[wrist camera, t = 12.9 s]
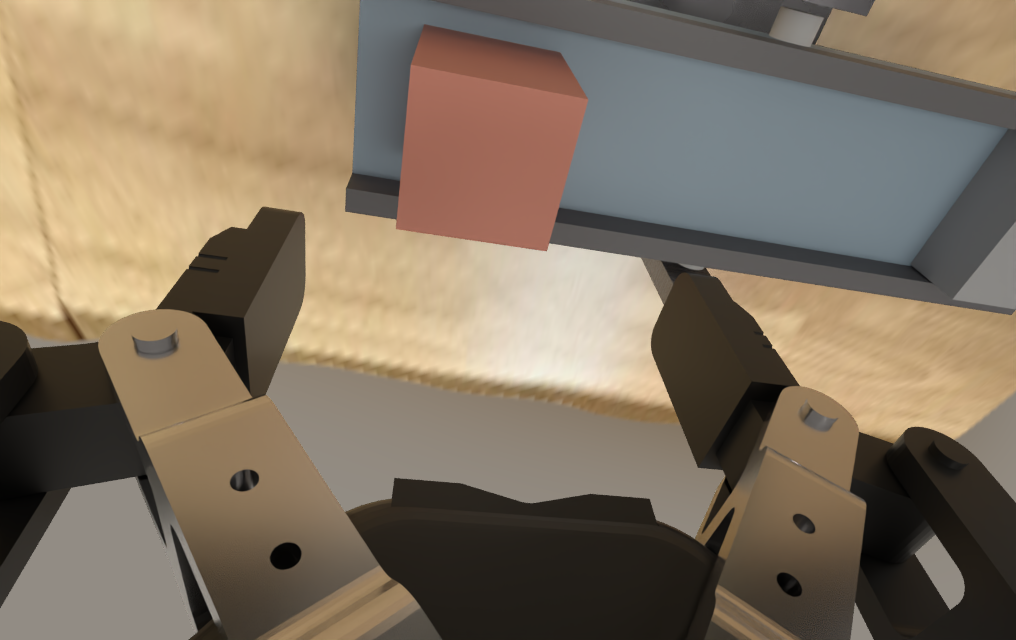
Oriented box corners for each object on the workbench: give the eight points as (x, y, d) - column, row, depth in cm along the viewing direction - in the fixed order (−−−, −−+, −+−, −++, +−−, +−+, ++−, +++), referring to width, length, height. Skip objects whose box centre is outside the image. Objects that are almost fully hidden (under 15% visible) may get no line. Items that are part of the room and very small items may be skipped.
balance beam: (1121, 89, 24) (1237, 123, 21) (954, 295, 31) (1020, 349, 27) (371, -95, 19) (348, -93, 15) (356, 200, 26) (337, 252, 22)
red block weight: (560, 52, 21) (588, 99, 16) (530, 179, 24) (546, 251, 19) (424, 24, 20) (410, 64, 15) (410, 159, 23) (395, 228, 18)
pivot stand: (855, -69, 29) (1072, -49, 19) (712, 236, 40) (799, 358, 29) (597, -141, 27) (681, -163, 16) (517, 204, 37) (537, 324, 27)
